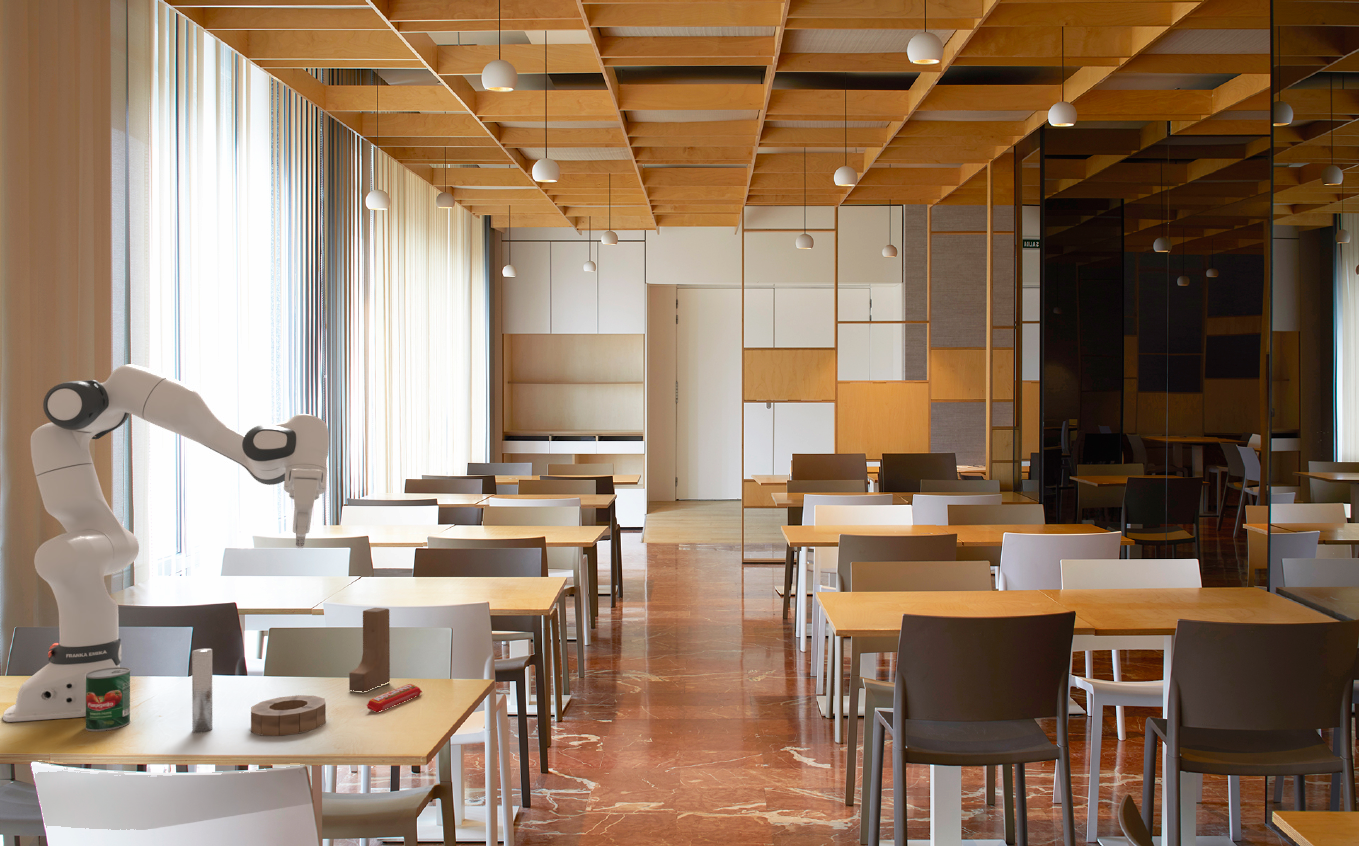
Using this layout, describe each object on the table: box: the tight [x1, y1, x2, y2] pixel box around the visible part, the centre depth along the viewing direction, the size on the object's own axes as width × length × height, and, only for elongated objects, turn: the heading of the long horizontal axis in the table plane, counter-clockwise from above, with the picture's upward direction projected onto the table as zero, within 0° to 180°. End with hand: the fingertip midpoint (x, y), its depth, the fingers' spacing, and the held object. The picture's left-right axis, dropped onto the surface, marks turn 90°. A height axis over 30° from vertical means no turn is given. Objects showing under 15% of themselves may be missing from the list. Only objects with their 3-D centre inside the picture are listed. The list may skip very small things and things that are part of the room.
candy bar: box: [366, 683, 423, 713], centre depth 204 cm, size 16×4×3 cm, turn 158°
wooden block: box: [348, 607, 391, 692], centre depth 217 cm, size 9×4×18 cm, turn 157°
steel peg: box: [191, 648, 213, 734], centre depth 186 cm, size 4×4×16 cm
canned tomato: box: [84, 666, 131, 732], centre depth 190 cm, size 8×8×11 cm
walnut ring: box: [250, 694, 327, 737], centre depth 189 cm, size 14×14×4 cm
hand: (300, 541), depth 204 cm, fingers open, 8 cm apart
